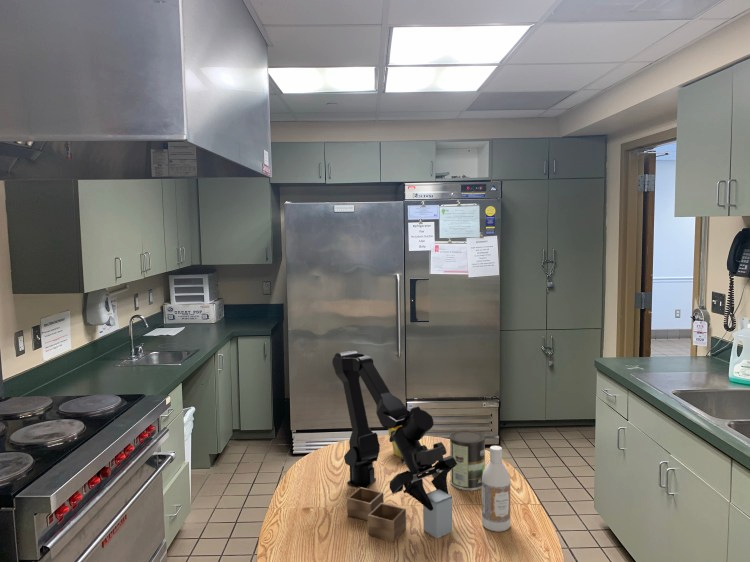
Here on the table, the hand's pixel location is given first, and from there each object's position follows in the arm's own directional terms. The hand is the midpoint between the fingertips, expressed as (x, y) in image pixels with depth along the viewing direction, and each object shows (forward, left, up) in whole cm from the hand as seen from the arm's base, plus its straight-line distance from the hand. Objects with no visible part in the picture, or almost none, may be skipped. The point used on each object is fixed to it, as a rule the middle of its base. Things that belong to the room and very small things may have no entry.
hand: (440, 506), depth 130 cm
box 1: (-21, -1, -7) cm, 22 cm away
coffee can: (-3, +28, -7) cm, 29 cm away
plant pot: (-29, +39, -7) cm, 49 cm away
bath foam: (+11, +9, -7) cm, 16 cm away
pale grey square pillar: (-1, 0, -7) cm, 7 cm away
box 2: (-12, -6, -7) cm, 15 cm away
